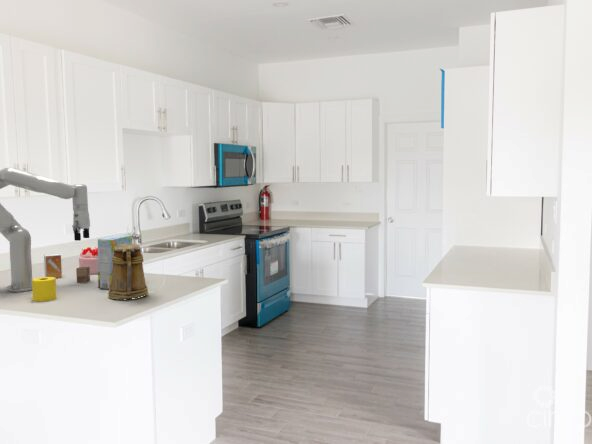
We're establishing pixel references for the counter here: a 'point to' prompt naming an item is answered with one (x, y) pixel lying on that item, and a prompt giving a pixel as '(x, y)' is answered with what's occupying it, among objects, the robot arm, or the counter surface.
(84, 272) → the walnut block
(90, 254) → the cake
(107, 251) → the snack box
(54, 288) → the tape roll
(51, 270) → the small box
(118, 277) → the tankard
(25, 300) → the counter surface
